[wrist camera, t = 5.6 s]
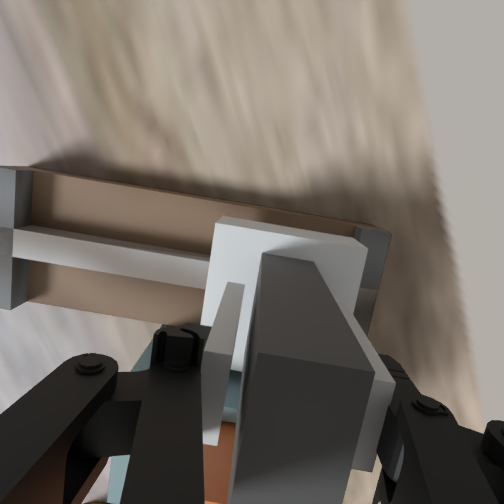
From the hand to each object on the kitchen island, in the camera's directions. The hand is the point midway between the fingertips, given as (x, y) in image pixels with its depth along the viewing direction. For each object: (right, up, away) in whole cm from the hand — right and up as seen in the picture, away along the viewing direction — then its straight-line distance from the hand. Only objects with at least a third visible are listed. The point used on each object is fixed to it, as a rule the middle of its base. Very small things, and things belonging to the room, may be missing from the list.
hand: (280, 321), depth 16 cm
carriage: (0, +1, +4) cm, 5 cm away
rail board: (-5, +3, +8) cm, 10 cm away
